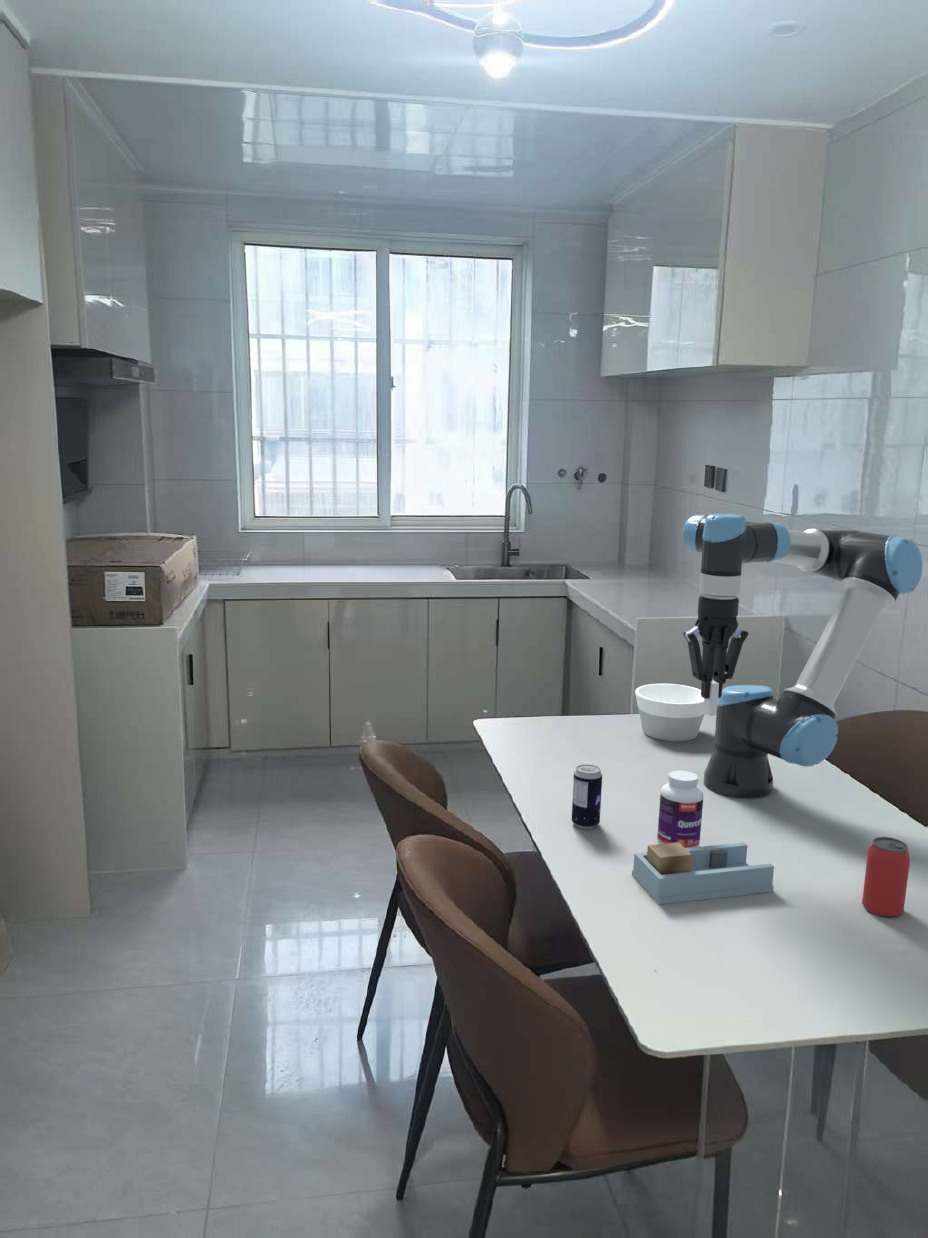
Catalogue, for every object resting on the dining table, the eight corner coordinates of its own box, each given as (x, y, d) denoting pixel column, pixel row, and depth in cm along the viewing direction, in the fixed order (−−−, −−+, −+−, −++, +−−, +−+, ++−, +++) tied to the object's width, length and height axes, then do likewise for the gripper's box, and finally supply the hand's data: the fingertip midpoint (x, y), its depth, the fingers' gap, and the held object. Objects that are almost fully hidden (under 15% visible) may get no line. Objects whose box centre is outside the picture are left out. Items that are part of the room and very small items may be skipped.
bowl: (632, 741, 249) (635, 701, 246) (632, 718, 267) (635, 681, 265) (709, 747, 246) (713, 706, 243) (704, 724, 264) (707, 685, 262)
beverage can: (598, 831, 194) (601, 775, 191) (570, 828, 195) (572, 772, 192) (600, 820, 199) (603, 765, 197) (572, 817, 200) (575, 762, 198)
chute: (740, 863, 181) (742, 841, 180) (773, 891, 171) (775, 867, 170) (631, 875, 176) (633, 852, 175) (658, 904, 165) (660, 880, 164)
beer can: (900, 922, 161) (908, 855, 159) (858, 911, 165) (865, 845, 162) (906, 906, 167) (914, 841, 164) (865, 895, 170) (872, 832, 168)
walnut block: (676, 873, 175) (678, 842, 173) (689, 886, 170) (692, 854, 169) (645, 876, 173) (647, 845, 172) (658, 889, 168) (660, 857, 167)
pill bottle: (677, 858, 183) (682, 786, 180) (648, 842, 189) (652, 772, 186) (708, 849, 187) (714, 778, 184) (678, 834, 194) (683, 765, 191)
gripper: (739, 591, 191) (729, 706, 196) (678, 592, 188) (670, 709, 193) (759, 598, 184) (749, 717, 189) (697, 600, 181) (688, 721, 186)
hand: (709, 713), depth 191 cm, fingers closed
